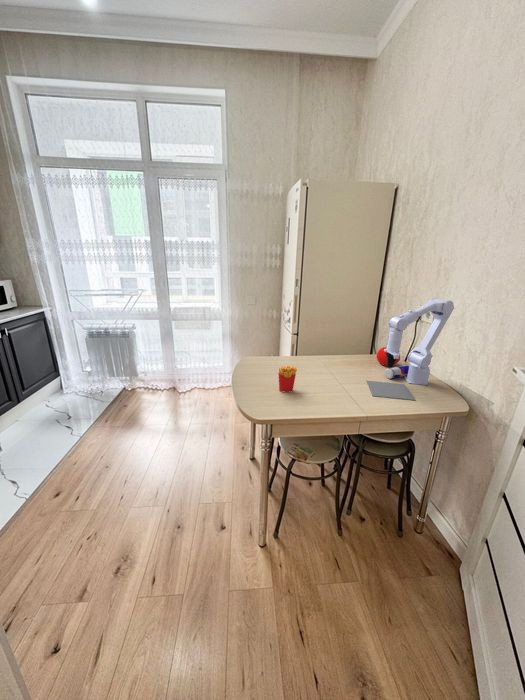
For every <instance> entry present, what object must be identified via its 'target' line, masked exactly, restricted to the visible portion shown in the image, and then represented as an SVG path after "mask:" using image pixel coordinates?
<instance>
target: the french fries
mask: <svg viewBox="0 0 525 700" xmlns="http://www.w3.org/2000/svg"><path fill="white" fill-rule="evenodd" d="M297 371H298V369H297V367H294V366H291V365H287V366H281V367H278V386H279V387H278V388H279V389H278V390H279V392H281V391H285V392H284V393H292V392H293V391H294V386H295V381H296V373H297ZM289 391H290V392H289ZM291 391H292V392H291Z"/></svg>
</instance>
